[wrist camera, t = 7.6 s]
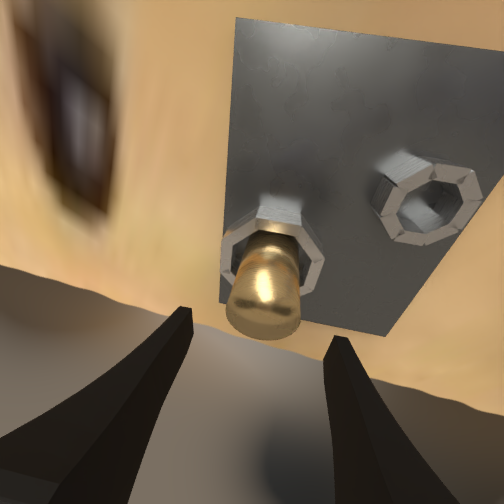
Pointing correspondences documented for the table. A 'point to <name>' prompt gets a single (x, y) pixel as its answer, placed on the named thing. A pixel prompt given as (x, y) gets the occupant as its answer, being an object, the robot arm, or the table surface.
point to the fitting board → (358, 160)
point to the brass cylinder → (266, 287)
